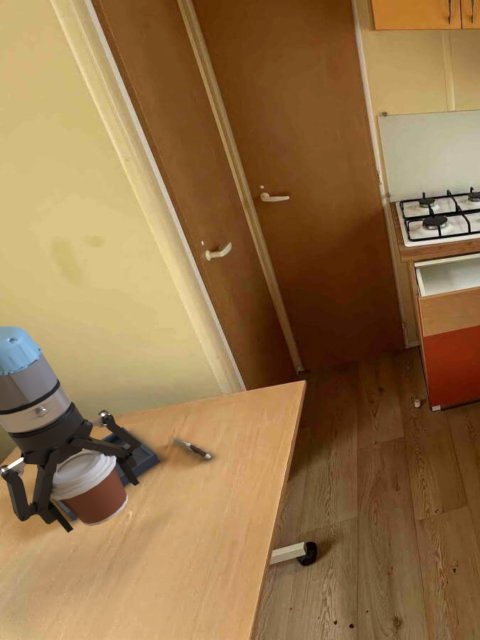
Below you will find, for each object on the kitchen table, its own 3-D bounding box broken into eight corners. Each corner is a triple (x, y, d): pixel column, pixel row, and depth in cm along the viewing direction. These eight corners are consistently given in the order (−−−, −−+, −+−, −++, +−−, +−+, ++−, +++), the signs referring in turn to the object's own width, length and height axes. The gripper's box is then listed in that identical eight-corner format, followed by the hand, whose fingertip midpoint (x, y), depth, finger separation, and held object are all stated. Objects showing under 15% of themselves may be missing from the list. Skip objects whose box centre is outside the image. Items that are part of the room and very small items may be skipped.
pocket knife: (212, 458, 98) (210, 452, 97) (209, 461, 97) (206, 455, 97) (175, 438, 103) (172, 433, 102) (171, 441, 102) (168, 436, 101)
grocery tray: (42, 486, 92) (35, 478, 91) (127, 433, 104) (122, 426, 103) (73, 521, 85) (67, 513, 84) (160, 461, 97) (155, 453, 96)
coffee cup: (91, 542, 72) (57, 499, 67) (60, 521, 75) (25, 478, 70) (148, 495, 80) (122, 452, 74) (118, 478, 83) (91, 436, 77)
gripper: (-58, 482, 56) (28, 573, 67) (134, 380, 73) (178, 465, 84) (-74, 458, 60) (10, 548, 70) (113, 366, 77) (159, 449, 87)
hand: (102, 503), depth 77 cm, fingers closed on coffee cup, 9 cm apart
